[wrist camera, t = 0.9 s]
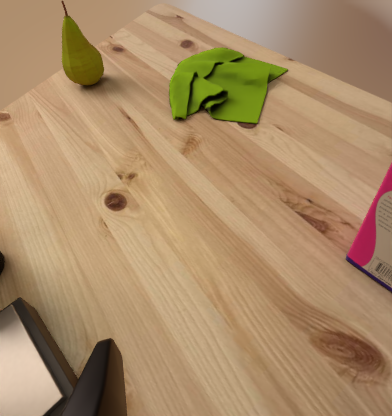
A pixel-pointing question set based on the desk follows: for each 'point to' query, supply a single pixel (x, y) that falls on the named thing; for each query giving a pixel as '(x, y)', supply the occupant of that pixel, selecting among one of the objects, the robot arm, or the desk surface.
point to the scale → (31, 365)
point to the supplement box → (376, 237)
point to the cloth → (221, 85)
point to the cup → (1, 262)
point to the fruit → (79, 55)
